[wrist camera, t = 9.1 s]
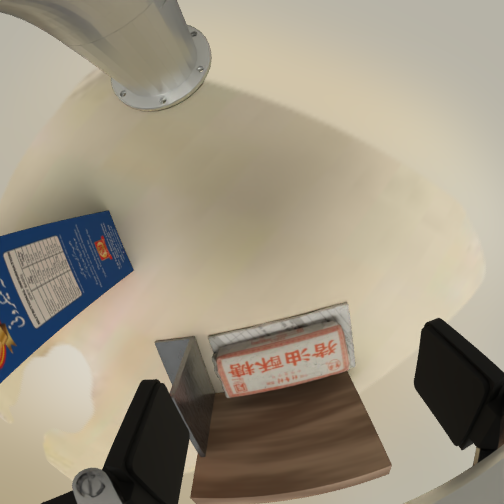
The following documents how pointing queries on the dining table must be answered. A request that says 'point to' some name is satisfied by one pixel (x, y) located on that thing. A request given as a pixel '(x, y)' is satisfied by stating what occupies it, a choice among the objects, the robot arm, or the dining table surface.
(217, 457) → the shelf panel
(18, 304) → the pasta box
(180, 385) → the bookend
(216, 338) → the packaged product
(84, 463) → the dining table surface
